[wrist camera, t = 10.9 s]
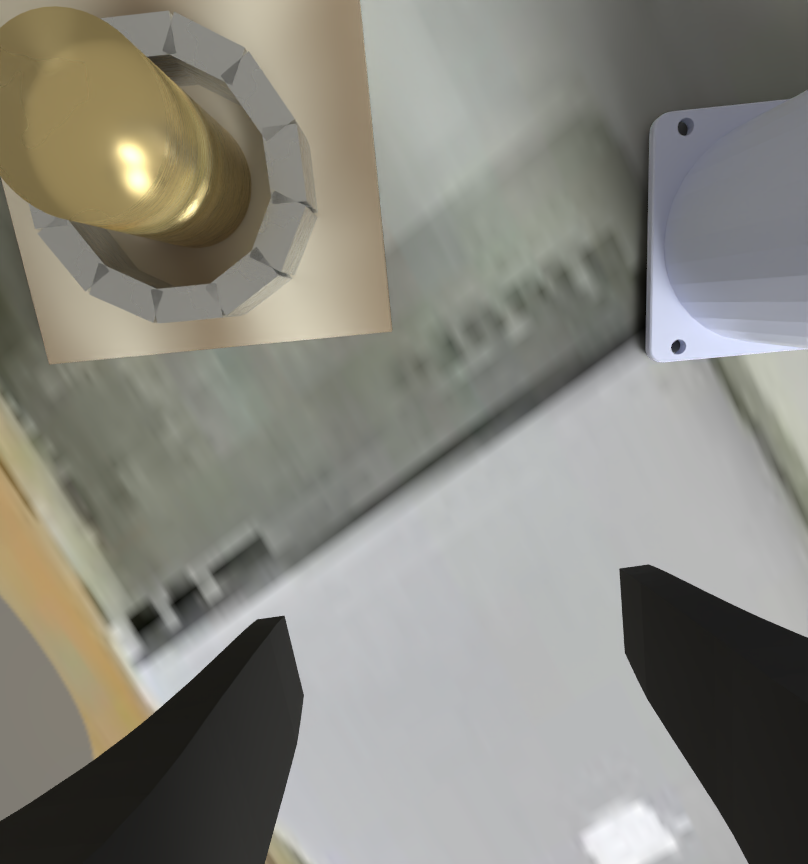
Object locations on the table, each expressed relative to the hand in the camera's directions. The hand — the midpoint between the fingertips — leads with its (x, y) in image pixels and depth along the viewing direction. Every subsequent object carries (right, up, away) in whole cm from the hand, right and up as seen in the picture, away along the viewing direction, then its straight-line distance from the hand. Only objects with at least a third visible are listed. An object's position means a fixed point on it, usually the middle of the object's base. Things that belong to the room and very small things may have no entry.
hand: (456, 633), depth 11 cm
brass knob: (-8, +12, +6) cm, 16 cm away
